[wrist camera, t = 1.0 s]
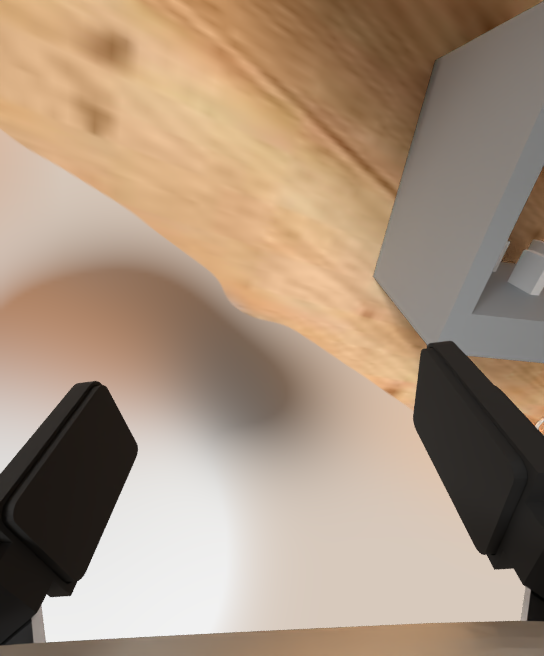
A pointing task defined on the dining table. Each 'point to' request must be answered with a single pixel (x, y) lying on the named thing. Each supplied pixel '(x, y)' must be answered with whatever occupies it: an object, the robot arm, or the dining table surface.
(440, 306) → the cabinet
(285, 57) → the dining table surface
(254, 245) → the dining table surface
